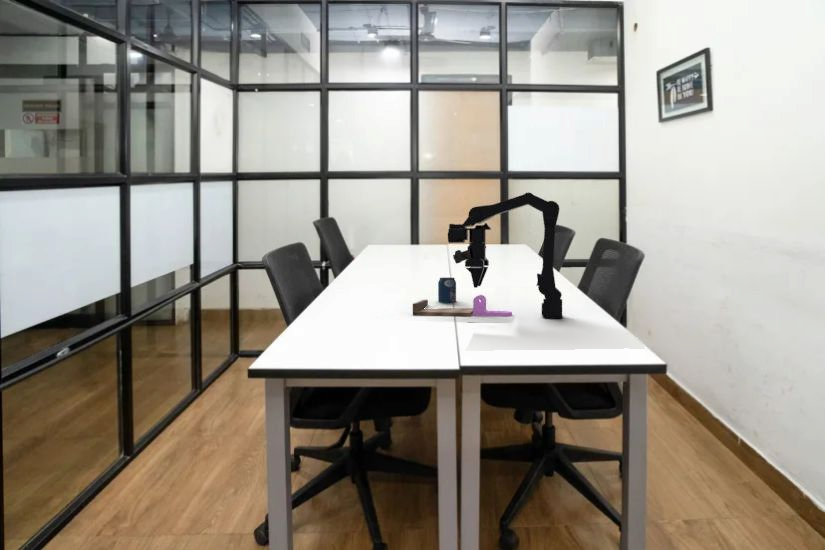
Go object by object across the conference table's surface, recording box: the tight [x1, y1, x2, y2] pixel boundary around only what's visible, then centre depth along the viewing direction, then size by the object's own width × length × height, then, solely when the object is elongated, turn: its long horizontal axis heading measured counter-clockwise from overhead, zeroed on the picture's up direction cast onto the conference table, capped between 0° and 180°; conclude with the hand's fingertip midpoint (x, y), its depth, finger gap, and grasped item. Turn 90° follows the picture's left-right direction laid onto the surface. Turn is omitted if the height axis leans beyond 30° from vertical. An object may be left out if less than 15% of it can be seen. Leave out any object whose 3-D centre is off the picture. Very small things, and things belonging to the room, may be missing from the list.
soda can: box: [437, 277, 457, 304], centre depth 225 cm, size 7×7×12 cm
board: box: [412, 299, 473, 317], centre depth 209 cm, size 20×18×4 cm
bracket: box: [472, 294, 513, 317], centre depth 201 cm, size 13×6×7 cm, turn 75°
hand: (477, 286), depth 205 cm, fingers open, 9 cm apart
